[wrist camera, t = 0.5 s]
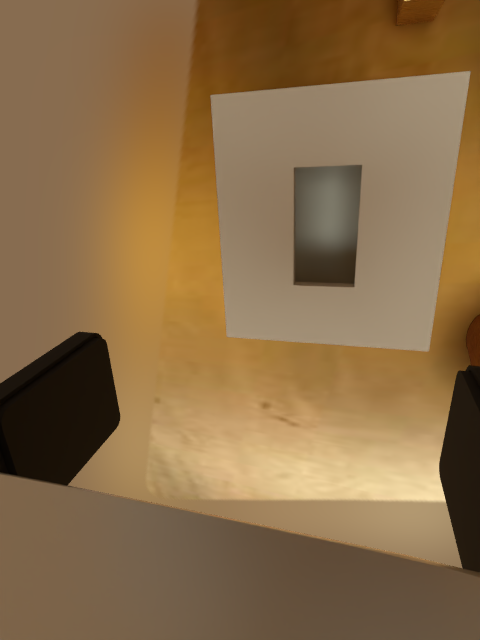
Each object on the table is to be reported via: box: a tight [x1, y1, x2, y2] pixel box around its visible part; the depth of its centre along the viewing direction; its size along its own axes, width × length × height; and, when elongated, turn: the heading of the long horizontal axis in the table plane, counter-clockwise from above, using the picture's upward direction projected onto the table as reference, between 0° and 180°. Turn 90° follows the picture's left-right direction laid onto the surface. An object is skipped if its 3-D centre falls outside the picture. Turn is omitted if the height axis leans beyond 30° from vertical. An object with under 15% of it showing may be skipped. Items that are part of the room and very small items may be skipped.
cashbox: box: [211, 71, 471, 351], centre depth 30 cm, size 16×14×10 cm
